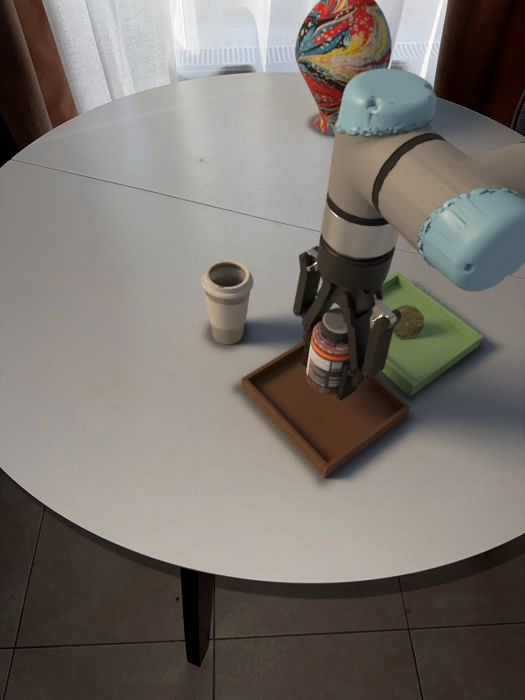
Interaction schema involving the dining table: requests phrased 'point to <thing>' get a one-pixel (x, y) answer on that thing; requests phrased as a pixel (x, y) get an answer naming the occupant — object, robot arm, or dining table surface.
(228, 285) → the cup
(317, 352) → the supplement bottle
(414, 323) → the lime
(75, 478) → the dining table surface
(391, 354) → the green tray
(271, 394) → the walnut tray
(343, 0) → the vase
